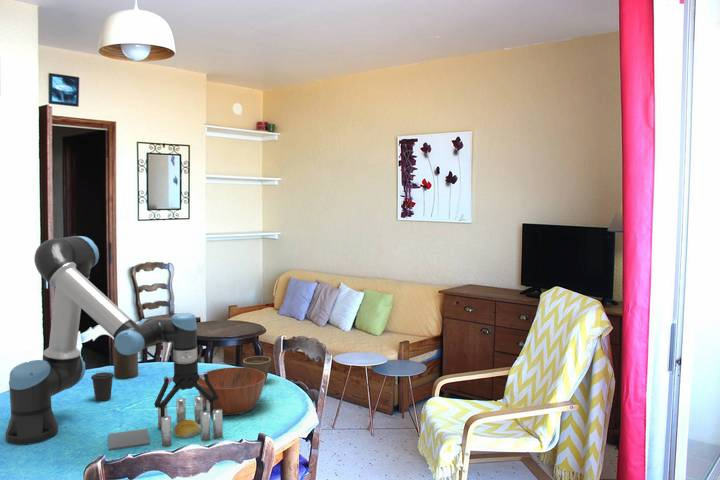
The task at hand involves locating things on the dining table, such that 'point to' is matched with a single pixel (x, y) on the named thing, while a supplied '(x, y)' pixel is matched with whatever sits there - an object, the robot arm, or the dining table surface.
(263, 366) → the flower pot
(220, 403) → the bowl
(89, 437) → the dining table surface
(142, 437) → the slate coaster
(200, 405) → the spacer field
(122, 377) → the pillar candle
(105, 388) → the coffee cup
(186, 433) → the bread roll
